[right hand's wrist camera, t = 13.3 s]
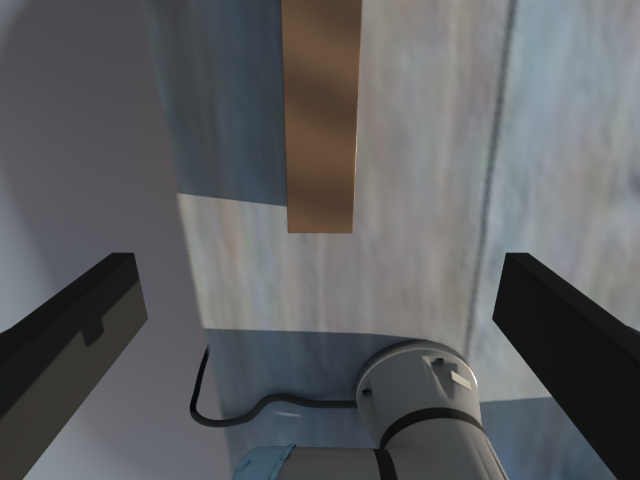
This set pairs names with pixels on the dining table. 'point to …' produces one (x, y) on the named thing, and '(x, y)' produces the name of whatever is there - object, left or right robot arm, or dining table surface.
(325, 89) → the beam
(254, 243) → the dining table surface
